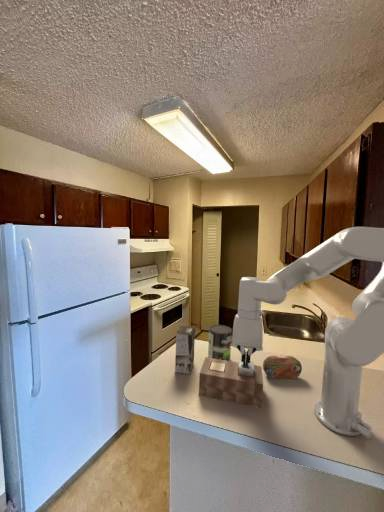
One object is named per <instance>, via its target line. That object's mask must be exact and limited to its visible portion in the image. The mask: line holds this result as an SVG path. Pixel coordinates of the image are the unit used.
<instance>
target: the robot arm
mask: <svg viewBox="0 0 384 512" xmlns="http://www.w3.org/2000/svg"><path fill="white" fill-rule="evenodd" d="M355 259H356V260H362V261H363V260H364V261H368V262H369V261H371V262H378V263H379V262H381V268H380V270H379V271H378V273H377V275H375V277H374V278H373V279H372V280H371V281H370V283H368V285H367V286H365V288H364V289H363V290H362V291H361V292H360V293H359V294H358V295H357V297H355V298H354V299H353V302H351V303H352V304H351V310H352V312H353V314H354V315H355V316H356V317H355V318H354V319H351V318H349V317H345V316H339V317H334V318H332V319H331V320H330V321H328V322H327V324H326V327H325V329H324V331H325V332H324V358H323V359H324V361H323V372H322V373H323V374H322V385H321V397H320V401H318V402H316V404H315V405H314V414H315V416H316V418H317V420H319V421H320V423H322V425H324V426H325V427H327V428H328V429H330V430H331V431H333V432H336V433H337V434H340V435H344V436H350V437H355V436H360V435H361V434H362V435H363V436H364V437H365V438H366V439H368V440H369V439H371V438H372V435H373V432H372V426H371V425H370V424H368V423H366V422H365V421H364V420H363V419H362V415H363V414H362V413H361V412H359V404H360V403H359V402H360V394H361V383H362V373H363V367H365V366H368V365H370V364H372V363H373V362H374V361H376V360H378V358H379V357H381V356H382V355H383V354H384V227H374V226H373V227H371V226H353V227H347V228H345V229H343V230H340V231H339V232H337V233H336V234H333V235H332V236H331V237H329V238H328V239H327V240H325V241H324V242H322V243H320V244H319V245H317V246H316V247H314V248H313V249H311V250H310V251H308V252H307V253H305V254H303V255H302V256H300V257H299V258H298V259H296V260H295V261H293V262H291V263H290V264H288V265H287V266H285V267H283V268H281V269H280V270H279V271H277V272H276V273H274V274H273V275H271V276H269V278H267V279H266V280H262V279H260V278H259V277H255V276H254V277H253V276H244V277H243V276H242V277H241V278H240V280H239V287H238V288H239V289H238V290H239V291H238V303H237V314H235V316H234V319H233V326H232V335H231V347H233V348H236V349H237V350H238V351H239V352H240V354H241V359H240V360H241V362H243V366H245V361H246V366H247V367H248V363H250V361H251V356H252V355H253V354H255V352H261V351H263V350H264V349H263V340H264V338H263V337H264V336H263V335H264V333H263V332H264V327H263V324H264V323H263V317H262V316H266V311H263V310H262V308H261V307H262V302H263V303H266V304H269V305H273V306H274V305H275V306H276V305H281V304H283V302H285V300H286V299H287V296H288V292H289V291H292V290H293V289H294V288H296V287H298V286H300V285H301V284H304V283H307V282H309V281H314V280H315V281H316V280H319V279H322V278H325V277H326V276H328V275H330V274H331V273H333V272H334V271H336V270H337V269H339V268H341V267H342V266H344V265H346V264H348V263H349V262H351V261H353V260H355ZM246 347H247V350H246Z"/></svg>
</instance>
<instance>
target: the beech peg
mask: <svg viewBox="0 0 384 512" xmlns="http://www.w3.org/2000/svg"><path fill="white" fill-rule="evenodd" d="M210 370H211V371H217V372H222V373H225V364H222V363H216V362H212V363H211V367H210Z"/></svg>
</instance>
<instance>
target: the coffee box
mask: <svg viewBox="0 0 384 512" xmlns="http://www.w3.org/2000/svg"><path fill="white" fill-rule="evenodd" d="M195 332H196V326H188V325H187V326H186V325H181V326H180V327H179V329H178V330H177V332H176V333H175V334H176V335H175V337H176V338H175V358H174V359H175V361H174V363H175V365H174V373H180V374H187V375H190V374H191V371H192V368H193V365H194V363H195V343H196V342H195V339H196V337H195V336H196V333H195Z"/></svg>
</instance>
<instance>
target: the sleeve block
mask: <svg viewBox="0 0 384 512" xmlns="http://www.w3.org/2000/svg"><path fill="white" fill-rule="evenodd" d="M212 362H216V363H222V364H225V373H222V372H217V371H211V370H210V367H211V363H212ZM238 370H239V361H232V360H230V361H226V360H220V359H214V358H208V356H206V357H204V360H203V362H202V365H201V368H200V371H199V376H198V377H199V378H198V396H201V397H206V398H211V399H217V400H219V401H220V400H222V401H227V402H231V403H234V404H235V403H237V404H241V405H245V406H249V407H255V408H260V409H262V408H263V396H264V378H263V366H262V365H256V364H254V374H253V378H251V377H245V376H239V375H238Z"/></svg>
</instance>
